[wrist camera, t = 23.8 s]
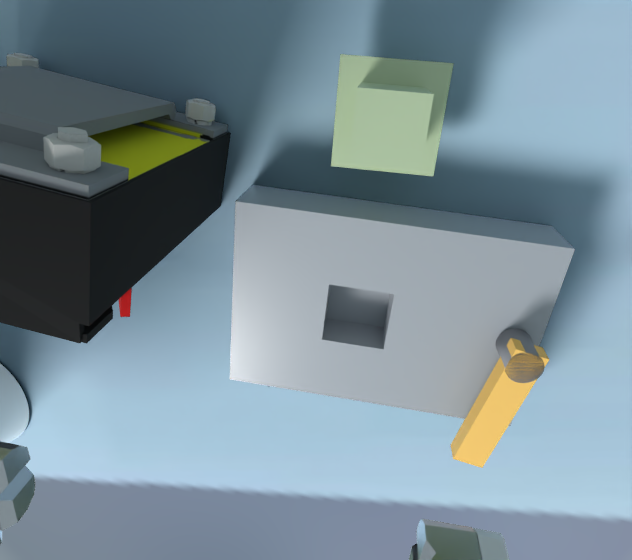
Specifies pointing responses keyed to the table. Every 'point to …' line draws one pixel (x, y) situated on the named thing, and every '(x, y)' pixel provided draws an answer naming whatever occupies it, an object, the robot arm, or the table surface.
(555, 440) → the table surface
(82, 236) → the electrical component
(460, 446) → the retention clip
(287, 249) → the grey flat block
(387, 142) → the plug
